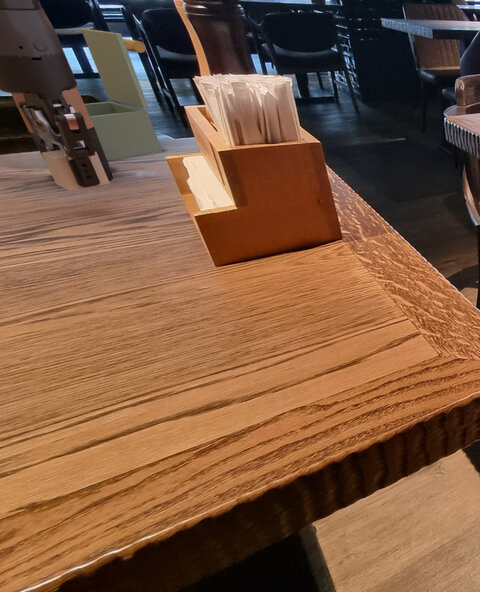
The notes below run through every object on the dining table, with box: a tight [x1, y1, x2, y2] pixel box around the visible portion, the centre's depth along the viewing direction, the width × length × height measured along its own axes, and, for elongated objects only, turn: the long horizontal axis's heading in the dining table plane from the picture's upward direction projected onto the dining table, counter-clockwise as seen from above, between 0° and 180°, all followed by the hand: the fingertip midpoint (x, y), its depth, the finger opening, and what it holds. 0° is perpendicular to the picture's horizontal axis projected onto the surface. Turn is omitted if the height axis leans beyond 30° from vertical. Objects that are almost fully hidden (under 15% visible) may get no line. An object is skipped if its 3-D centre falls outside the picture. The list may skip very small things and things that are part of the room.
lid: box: [80, 28, 149, 109], centre depth 99 cm, size 12×15×5 cm
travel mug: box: [10, 86, 114, 182], centre depth 83 cm, size 8×8×20 cm
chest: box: [84, 100, 163, 161], centre depth 98 cm, size 12×15×9 cm
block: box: [40, 147, 110, 192], centre depth 73 cm, size 4×4×4 cm
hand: (82, 181), depth 74 cm, fingers closed on block, 4 cm apart
